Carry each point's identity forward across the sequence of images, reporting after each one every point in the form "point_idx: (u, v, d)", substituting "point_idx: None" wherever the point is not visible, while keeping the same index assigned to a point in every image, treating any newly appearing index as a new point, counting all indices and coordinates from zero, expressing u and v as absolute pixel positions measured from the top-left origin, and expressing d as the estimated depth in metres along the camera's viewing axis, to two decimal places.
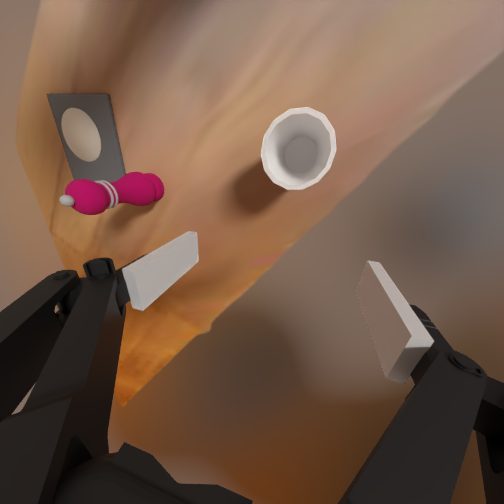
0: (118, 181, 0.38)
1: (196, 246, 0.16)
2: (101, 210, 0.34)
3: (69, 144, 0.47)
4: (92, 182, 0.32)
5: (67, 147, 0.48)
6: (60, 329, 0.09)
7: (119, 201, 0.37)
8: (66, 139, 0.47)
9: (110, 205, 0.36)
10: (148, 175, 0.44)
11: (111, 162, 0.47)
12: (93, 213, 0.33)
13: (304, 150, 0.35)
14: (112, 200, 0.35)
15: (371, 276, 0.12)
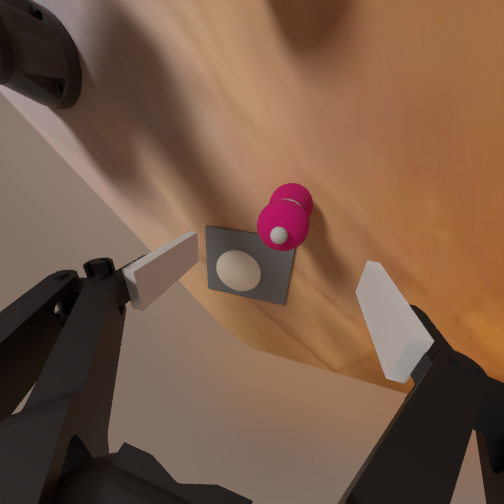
0: None
1: (196, 246, 0.16)
2: (303, 209, 0.21)
3: (244, 288, 0.47)
4: None
5: (247, 293, 0.48)
6: (60, 329, 0.09)
7: None
8: (240, 289, 0.47)
9: None
10: None
11: (262, 247, 0.41)
12: (305, 219, 0.21)
13: None
14: None
15: (371, 276, 0.12)
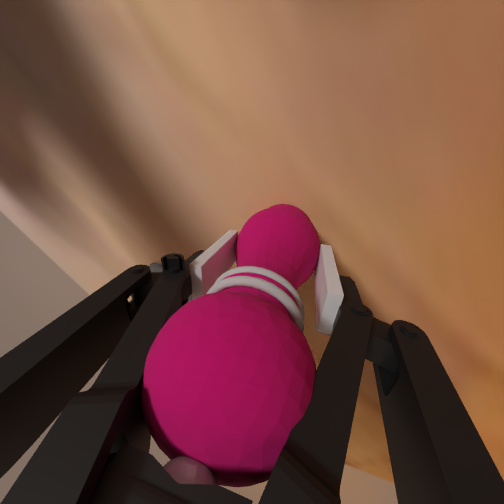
0: None
1: None
2: (295, 345, 0.06)
3: None
4: None
5: None
6: (128, 320, 0.09)
7: (285, 279, 0.10)
8: None
9: (289, 306, 0.08)
10: None
11: None
12: (304, 398, 0.05)
13: None
14: (268, 286, 0.08)
15: (321, 256, 0.14)
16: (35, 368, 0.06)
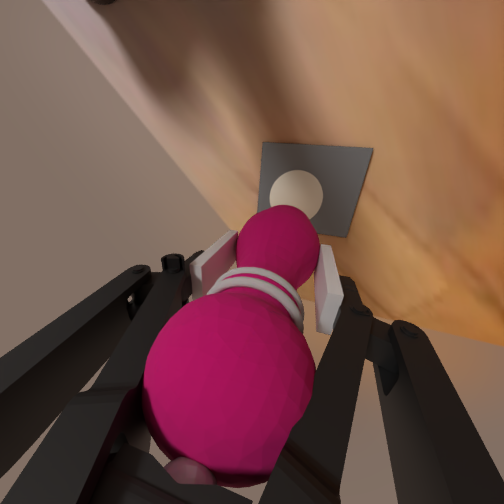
0: None
1: (236, 244, 0.17)
2: (295, 346, 0.06)
3: None
4: None
5: None
6: (128, 320, 0.09)
7: (285, 279, 0.10)
8: None
9: (288, 306, 0.08)
10: None
11: (329, 162, 0.37)
12: (304, 399, 0.05)
13: None
14: (267, 287, 0.08)
15: (321, 256, 0.14)
16: (35, 368, 0.06)
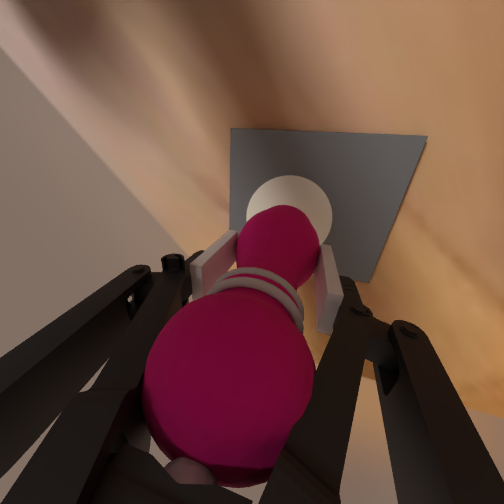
0: None
1: (236, 244, 0.17)
2: (295, 346, 0.06)
3: None
4: None
5: None
6: (128, 320, 0.09)
7: (285, 280, 0.10)
8: None
9: (288, 307, 0.08)
10: None
11: (344, 163, 0.21)
12: (304, 399, 0.05)
13: None
14: (267, 288, 0.08)
15: (321, 256, 0.14)
16: (35, 368, 0.06)
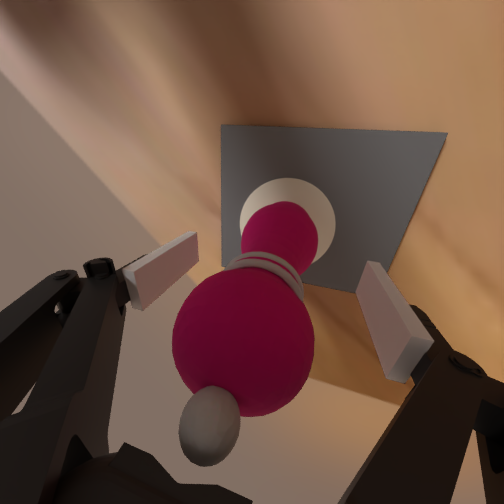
0: None
1: (196, 246, 0.16)
2: (297, 307, 0.07)
3: None
4: None
5: None
6: (60, 329, 0.09)
7: None
8: None
9: (291, 283, 0.10)
10: None
11: (350, 164, 0.18)
12: (304, 345, 0.07)
13: None
14: (273, 267, 0.10)
15: (371, 276, 0.12)
16: None
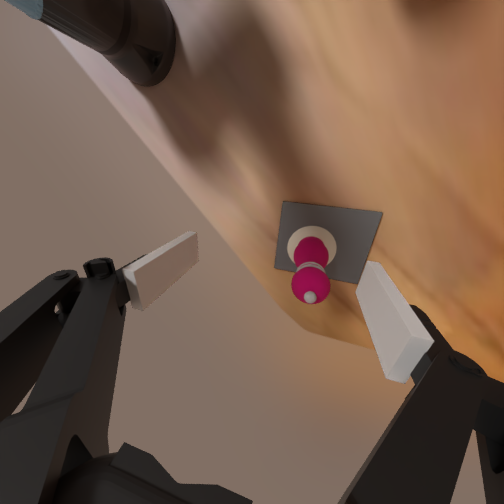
0: (299, 264, 0.37)
1: (196, 246, 0.16)
2: (326, 276, 0.30)
3: None
4: (296, 273, 0.31)
5: None
6: (60, 329, 0.09)
7: None
8: None
9: (322, 271, 0.32)
10: None
11: (342, 222, 0.41)
12: (328, 284, 0.29)
13: None
14: (317, 266, 0.32)
15: (371, 276, 0.12)
16: None
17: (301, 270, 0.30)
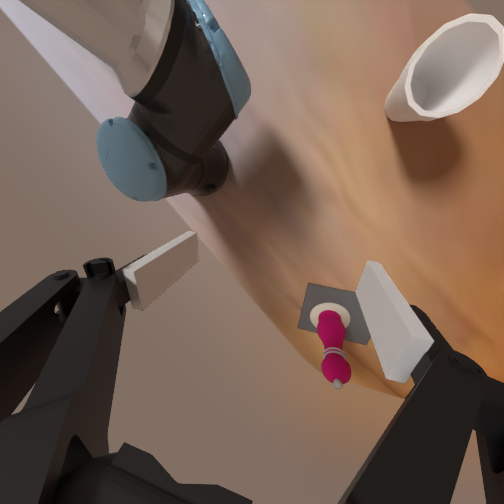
0: (324, 342, 0.48)
1: (196, 246, 0.16)
2: (348, 365, 0.41)
3: None
4: (325, 360, 0.43)
5: None
6: (60, 329, 0.09)
7: (341, 348, 0.45)
8: None
9: (344, 357, 0.43)
10: (320, 318, 0.55)
11: (356, 302, 0.52)
12: (350, 372, 0.41)
13: None
14: (340, 353, 0.43)
15: (371, 276, 0.12)
16: None
17: (330, 359, 0.42)
